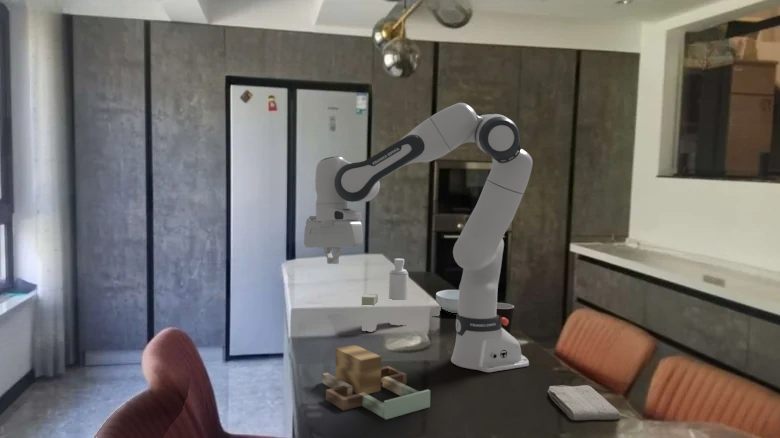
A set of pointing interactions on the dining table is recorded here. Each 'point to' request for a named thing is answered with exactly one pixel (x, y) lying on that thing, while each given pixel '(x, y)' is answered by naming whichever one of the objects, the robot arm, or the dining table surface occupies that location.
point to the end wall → (406, 404)
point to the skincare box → (369, 299)
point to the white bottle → (398, 281)
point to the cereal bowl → (448, 300)
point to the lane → (345, 400)
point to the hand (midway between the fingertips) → (333, 263)
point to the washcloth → (582, 403)
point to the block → (359, 369)
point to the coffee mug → (505, 314)
